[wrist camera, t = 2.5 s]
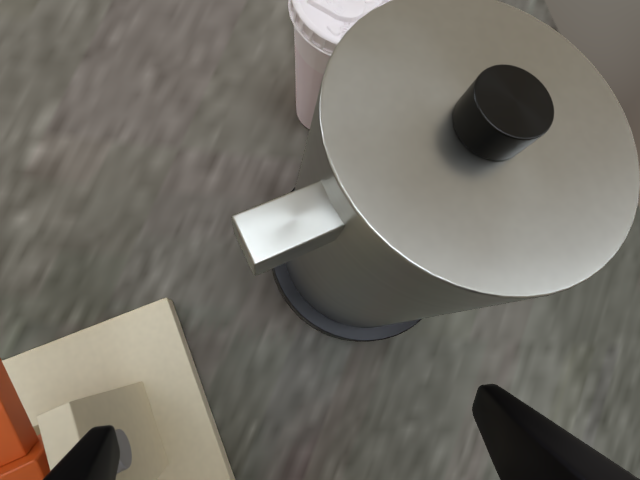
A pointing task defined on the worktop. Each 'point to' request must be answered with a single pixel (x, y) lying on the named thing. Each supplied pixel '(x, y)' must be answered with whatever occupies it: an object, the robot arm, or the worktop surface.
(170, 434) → the knobbed lever stand
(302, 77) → the smoothie
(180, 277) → the worktop surface
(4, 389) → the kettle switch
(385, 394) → the worktop surface
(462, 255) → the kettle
